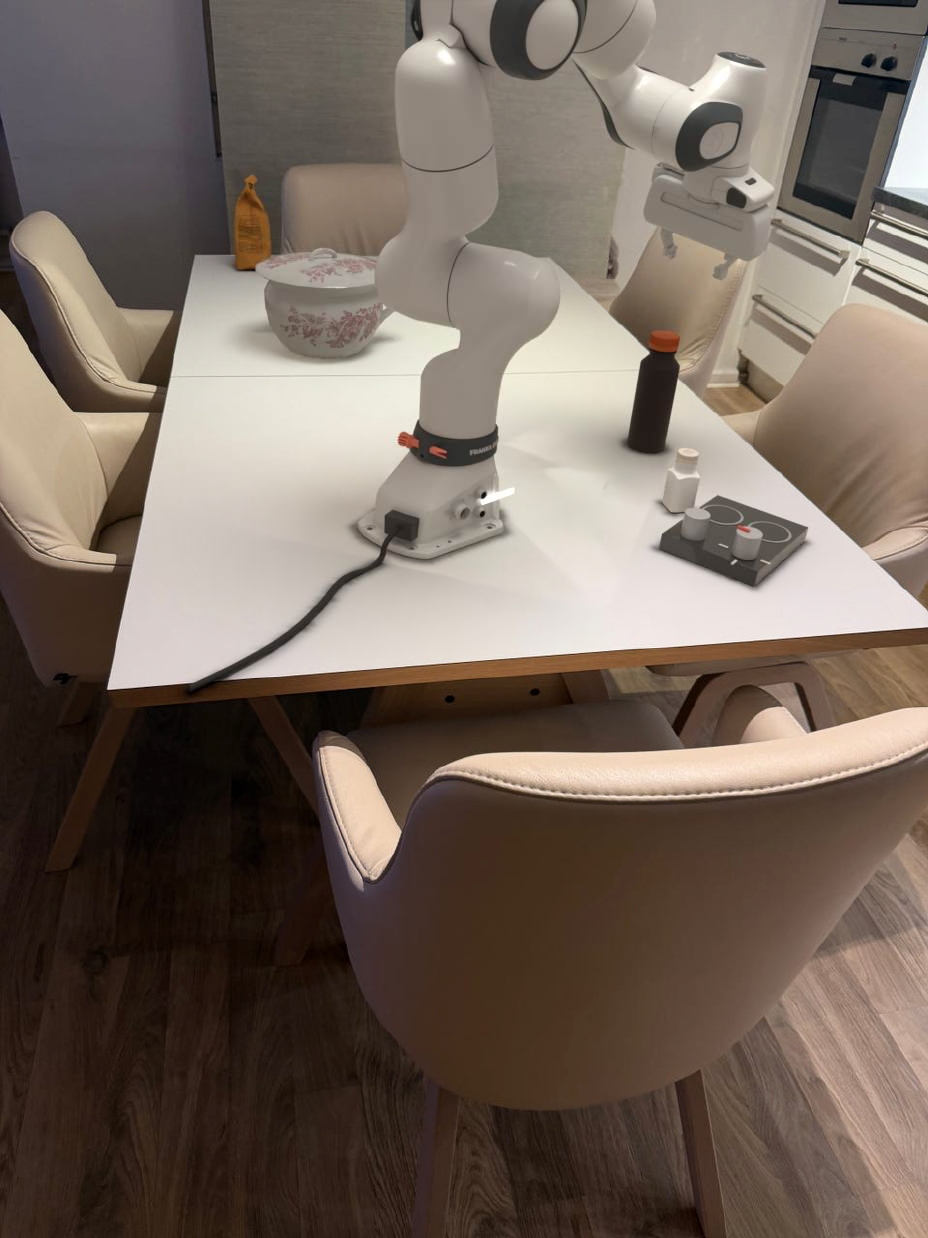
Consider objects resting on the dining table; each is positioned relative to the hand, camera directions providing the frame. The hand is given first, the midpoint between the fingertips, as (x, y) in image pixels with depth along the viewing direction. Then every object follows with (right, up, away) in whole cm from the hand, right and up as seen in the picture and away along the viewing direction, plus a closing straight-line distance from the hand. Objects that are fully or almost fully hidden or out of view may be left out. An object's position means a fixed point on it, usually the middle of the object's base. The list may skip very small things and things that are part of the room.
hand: (693, 267), depth 151 cm
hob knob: (+3, -46, -16) cm, 49 cm away
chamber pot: (-66, +2, +54) cm, 85 cm away
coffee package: (-93, +39, +107) cm, 147 cm away
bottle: (-4, -25, +21) cm, 32 cm away
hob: (+4, -44, -9) cm, 46 cm away
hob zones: (+4, -42, -10) cm, 44 cm away
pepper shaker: (-3, -38, +1) cm, 38 cm away
